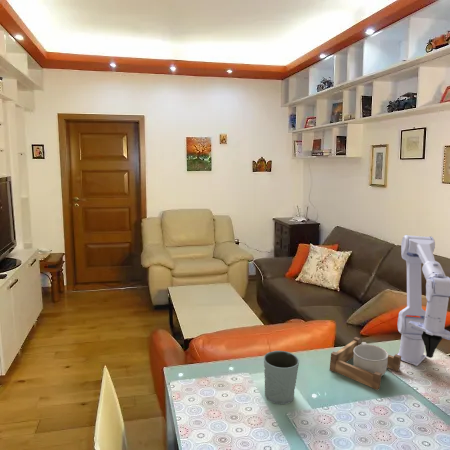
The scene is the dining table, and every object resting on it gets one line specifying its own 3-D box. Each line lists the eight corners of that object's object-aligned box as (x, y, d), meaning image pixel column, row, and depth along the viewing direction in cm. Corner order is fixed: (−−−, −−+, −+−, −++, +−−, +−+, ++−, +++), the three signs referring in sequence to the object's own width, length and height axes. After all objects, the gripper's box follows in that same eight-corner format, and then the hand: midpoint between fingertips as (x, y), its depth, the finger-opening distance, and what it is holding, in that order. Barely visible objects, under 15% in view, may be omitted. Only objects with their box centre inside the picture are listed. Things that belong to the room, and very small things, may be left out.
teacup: (388, 384, 135) (391, 361, 134) (352, 379, 137) (355, 356, 136) (381, 363, 149) (384, 341, 147) (349, 358, 151) (351, 337, 149)
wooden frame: (354, 352, 155) (355, 336, 154) (399, 369, 145) (401, 353, 143) (329, 369, 143) (331, 353, 141) (377, 390, 132) (379, 372, 131)
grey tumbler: (298, 390, 130) (301, 354, 127) (292, 409, 120) (295, 370, 118) (266, 383, 133) (268, 347, 131) (257, 401, 124) (260, 363, 121)
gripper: (406, 311, 133) (401, 352, 136) (457, 326, 124) (451, 369, 126) (414, 306, 138) (409, 345, 141) (464, 319, 129) (457, 361, 131)
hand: (429, 356), depth 134 cm, fingers closed
